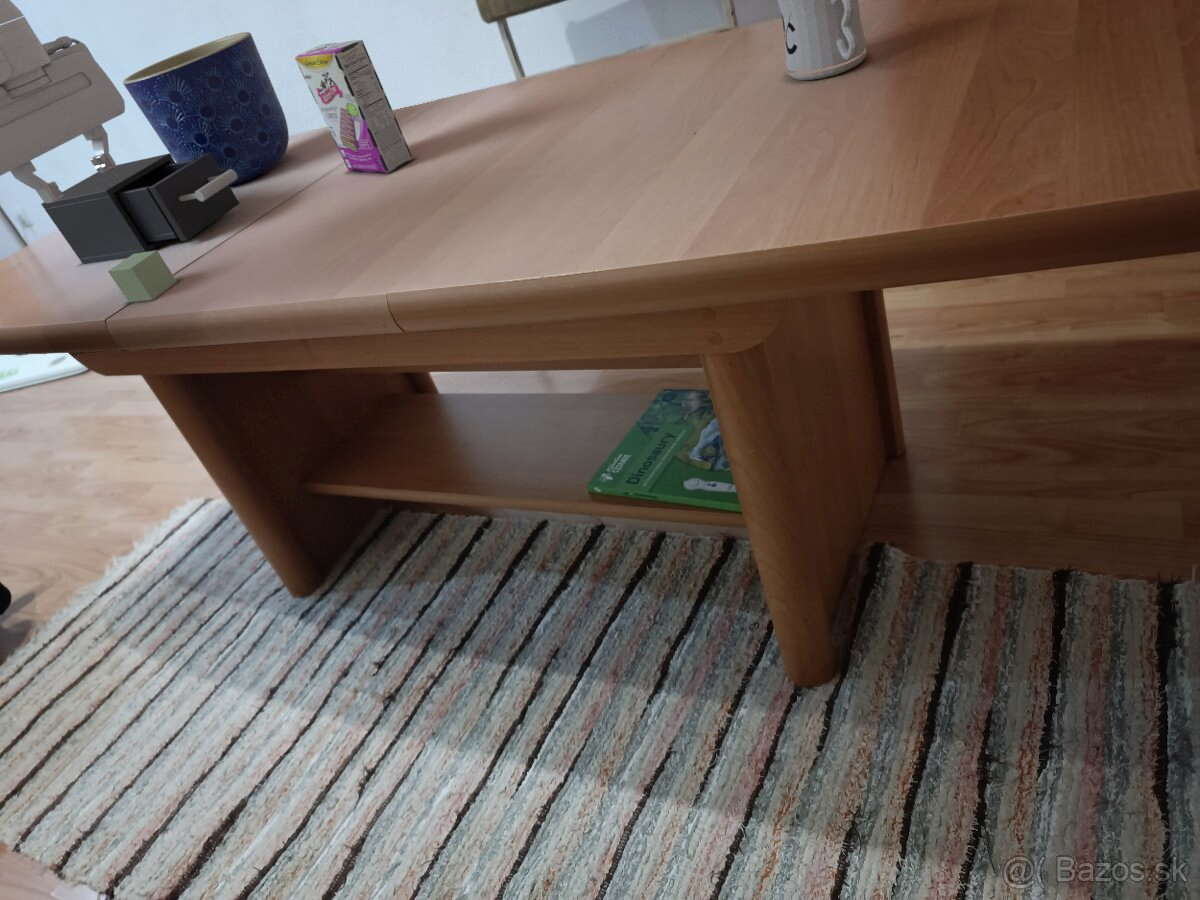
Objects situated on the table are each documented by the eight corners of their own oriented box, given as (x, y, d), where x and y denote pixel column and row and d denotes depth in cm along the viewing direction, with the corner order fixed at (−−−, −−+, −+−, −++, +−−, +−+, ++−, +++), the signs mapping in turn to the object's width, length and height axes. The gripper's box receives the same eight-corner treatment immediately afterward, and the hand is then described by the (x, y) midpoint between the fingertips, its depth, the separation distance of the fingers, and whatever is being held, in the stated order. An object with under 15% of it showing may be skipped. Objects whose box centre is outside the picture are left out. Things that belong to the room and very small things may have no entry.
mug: (775, 74, 104) (760, -16, 98) (845, 48, 104) (834, -43, 99) (820, 94, 94) (806, -5, 88) (897, 64, 94) (889, -36, 89)
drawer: (264, 199, 125) (235, 146, 120) (212, 236, 117) (179, 181, 112) (177, 214, 133) (147, 165, 128) (123, 250, 125) (89, 199, 120)
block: (152, 300, 105) (131, 267, 102) (129, 302, 107) (107, 271, 104) (177, 281, 108) (157, 250, 105) (154, 284, 110) (133, 253, 107)
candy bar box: (346, 173, 126) (291, 57, 117) (373, 158, 129) (321, 43, 119) (387, 175, 119) (332, 51, 110) (415, 159, 121) (363, 37, 112)
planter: (302, 168, 137) (239, 43, 126) (179, 213, 137) (106, 92, 126) (312, 137, 154) (257, 24, 143) (202, 177, 154) (139, 67, 143)
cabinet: (205, 214, 131) (170, 153, 126) (147, 254, 123) (106, 190, 117) (142, 225, 138) (105, 167, 132) (82, 263, 129) (40, 203, 124)
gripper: (59, 36, 100) (129, 152, 108) (-102, 100, 86) (-7, 228, 94) (93, 24, 97) (163, 144, 105) (-67, 88, 83) (28, 221, 91)
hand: (82, 184), depth 99 cm, fingers open, 7 cm apart
